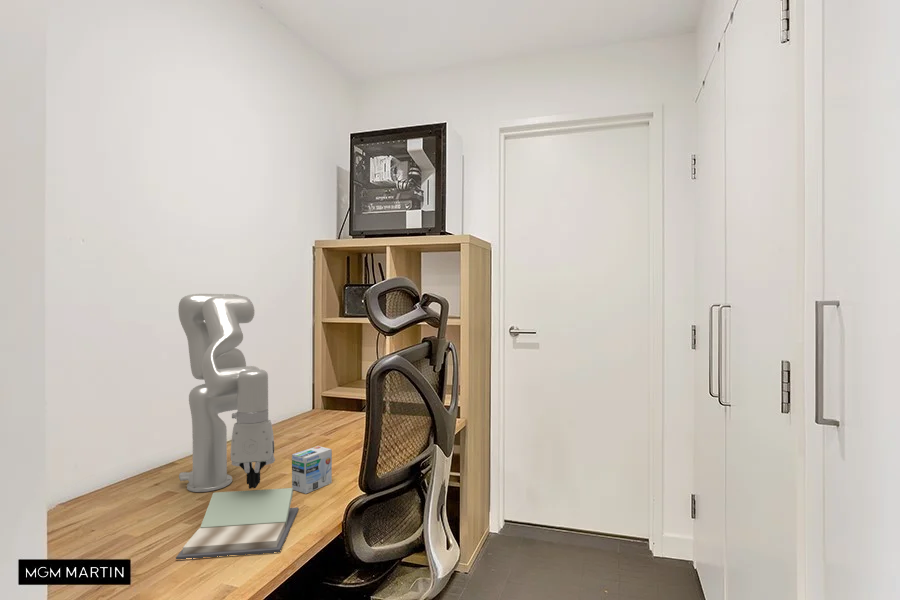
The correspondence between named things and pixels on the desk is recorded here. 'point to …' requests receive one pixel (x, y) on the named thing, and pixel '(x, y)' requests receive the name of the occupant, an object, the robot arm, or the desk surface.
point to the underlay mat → (290, 521)
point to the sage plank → (248, 508)
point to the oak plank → (234, 538)
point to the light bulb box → (311, 469)
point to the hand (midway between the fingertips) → (253, 486)
